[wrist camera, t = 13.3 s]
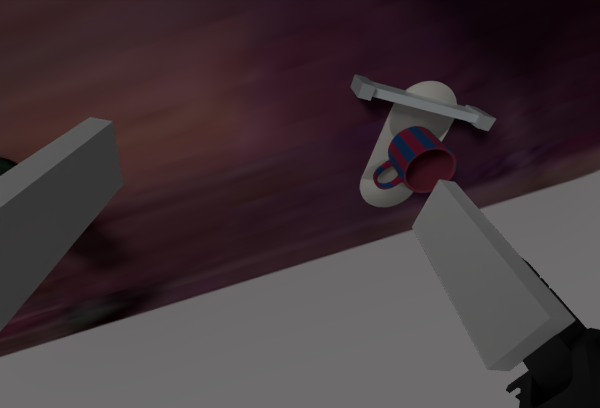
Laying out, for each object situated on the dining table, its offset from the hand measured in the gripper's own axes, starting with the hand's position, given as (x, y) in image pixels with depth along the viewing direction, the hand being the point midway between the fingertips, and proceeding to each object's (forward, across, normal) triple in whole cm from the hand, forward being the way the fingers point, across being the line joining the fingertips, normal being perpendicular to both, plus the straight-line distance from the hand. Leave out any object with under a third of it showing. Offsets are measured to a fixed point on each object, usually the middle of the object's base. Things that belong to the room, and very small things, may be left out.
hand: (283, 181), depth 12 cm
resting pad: (+28, +19, -9) cm, 35 cm away
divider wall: (+28, +18, -1) cm, 33 cm away
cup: (+28, +18, -9) cm, 35 cm away
